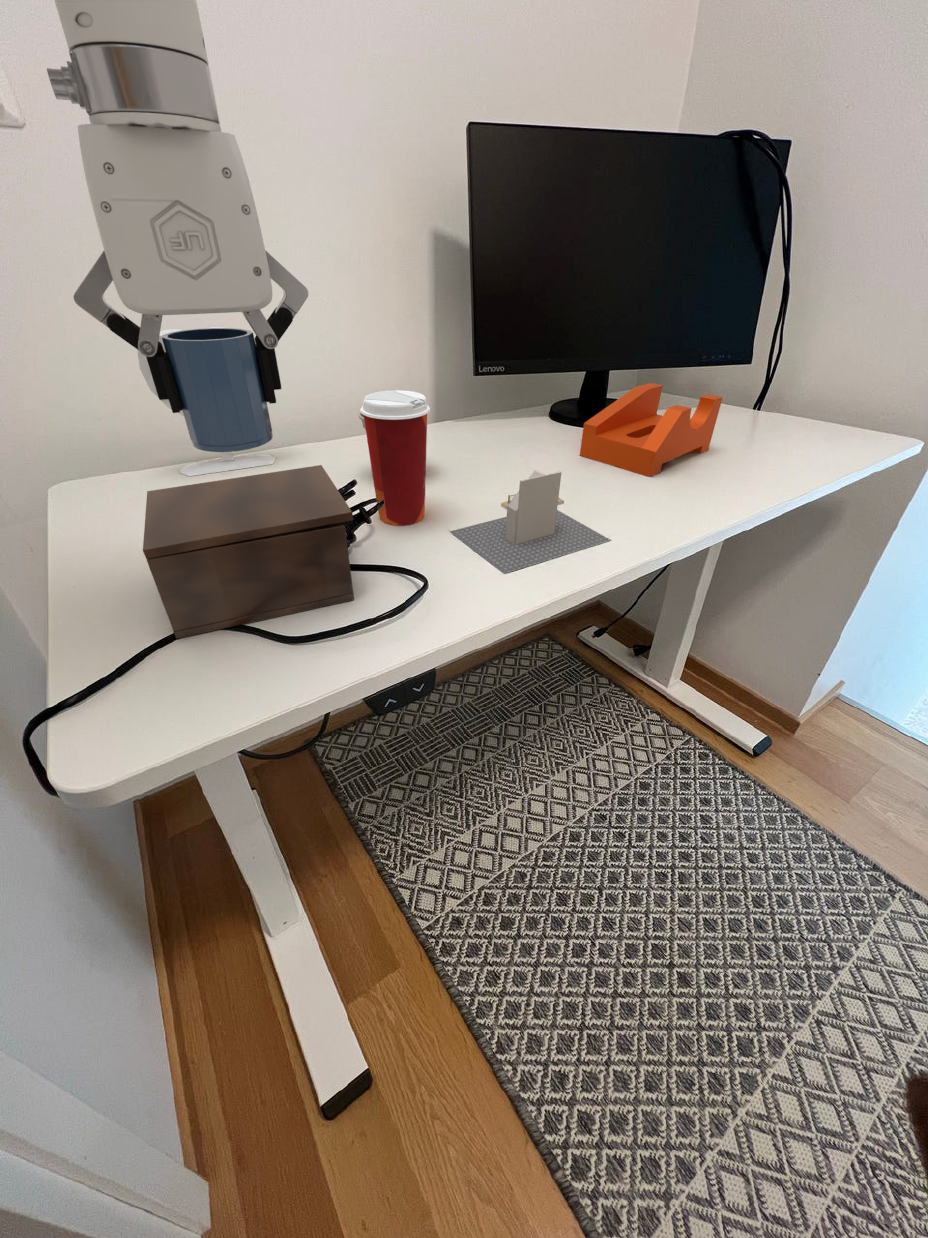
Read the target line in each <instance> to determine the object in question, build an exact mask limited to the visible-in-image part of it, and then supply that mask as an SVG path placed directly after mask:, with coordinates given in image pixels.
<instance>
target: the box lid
mask: <svg viewBox="0 0 928 1238" xmlns="http://www.w3.org/2000/svg"><path fill="white" fill-rule="evenodd" d="M353 514H354V513H353V511H352V509H351V507H350V506H349V505H348V503H347V502H346V500H345V498H344V497H343V495H342V494H341V492H340V490H339V489H338V488H337V486H336V485H335V483H334V482H333V480H332V479H331V477H330V475H329V474H328V473H327V471H326V470H325V468H324V466H323V465H322V464H319V465H313V466H304V467H299V468H298V467H297V468H291V469H286V470H278V471H272V472H266V473H260V474H259V473H257V474H252V475H246V476H239V477H238V476H237V477H232V478H227V479H226V478H225V479H219V480H213V481H212V480H211V481H205V482H199V483H192V484H186V485H179V486H173V487H167V488H166V487H165V488H159V489H153V490H152V489H151V490H147V491H146V501H145V513H144V515H145V516H144V527H143V528H144V529H143V540H142V541H143V544H142V552H143V554H144V557H145V559H146V560H147V559H148V558H154V557H159V556H164V555H170V554H175V553H180V552H186V551H191V550H196V549H201V548H207V547H212V546H217V545H223V544H228V543H233V542H239V541H244V540H249V539H255V538H260V537H265V536H271V535H276V534H281V533H287V532H292V531H297V530H303V529H308V528H313V527H319V526H324V525H329V524H335V523H340V522H343V523H345V522H351V521H354V515H353Z"/></svg>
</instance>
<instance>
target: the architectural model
mask: <svg viewBox="0 0 928 1238" xmlns="http://www.w3.org/2000/svg"><path fill="white" fill-rule="evenodd" d="M561 481H562V471H557V472H552V473H548V474H547V473H546V474H544V473H543V472H541V471H539V470H537V469H534V470H533V472H532V473H531V474H530V476H529V477H528V478H525V479H522V480H519V488H518V491H517V492H516V493H515V494H512V495H511V494H508V495H507V496H508V497H507V501H504V502H500V507H501V508H503V509H504V510H506V516H504V517H500V518H495V519H491V520H489V521H488V520H487V521H484V522H480V523H477V524H472V525H469V526H464V527H461V528H457V529H454V530H450V531H449V532H450V533H451V534H452V535H454V536H455V537H456V538H457V539H458V540H460V541H461V542H462V543H464V544H465V545H466V546H468V547H469V548H470V549H472V550H473V551H474V552H476V553H477V554H478V555H479V556H481V557H482V558H483V559H485V560H486V561H487V562H489V563H490V564H491V565H493V566H494V567H495V568H496V569H498V570H499V571H500V572H501V573H503V574H504V575H505V574H508V573H509V574H510V573H512V572H514V571H518V570H521V569H525V568H527V567H530V566H533V565H537V564H540V563H543V562H547V561H549V560H553V559H556V558H559V557H563V556H566V555H569V554H573V553H575V552H578V551H581V550H585V549H588V548H591V547H594V546H598V545H601V544H603V543H607V542H611V539H610V538H608V537H606V536H605V535H603V534H601V533H599V532H597V530H594V529H592V528H591V527H589V526H587V525H585V524H583V523H582V522H580V521H578V520H576V519H575V518H573V517H571V516H569V515H568V514H566V513H564V512H563V511H561V510H558V506H560V505H564V504H565V500H564V499H562V498H560V497H559V496H560V489H561V488H560V487H561ZM511 497H512V498H511Z"/></svg>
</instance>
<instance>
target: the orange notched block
mask: <svg viewBox="0 0 928 1238" xmlns="http://www.w3.org/2000/svg"><path fill="white" fill-rule="evenodd" d="M662 390H663V384H657V383H652V382H648V383H645V384H641V385H638V386H635V387H633V388H632V389H631V390H629V391H628V392H626V393H625V394H624V395H622V396H620V397H619V398H617V399H616V400H615V401H613V402H612V403H610V404H609V405H608V406H606V407H605V408H603V409H602V410H601V411H599V412H598V413H596V414H595V415H593V416H592V417H591V418H589V419H588V420H586V421H585V422H584V423H583V427H582V435H581V443H580V451H579V456H580V457H584V458H587V459H590V460H593V461H596V462H600V463H603V464H607V465H610V466H613V467H616V468H619V469H623V470H626V471H628V472H632V473H635V474H638V475H643V476H645V477H649V478H651V477H654V476H656V475H658V474H660V473H661V470H662V465H663V464H665V463H667V462H669V461H672V460H675V459H676V458H678V457H681V456H682V455H685V454H687V453H690V452H692V453H695V454H700V455H702V454H703V453H705V452H708V451H709V449H710V445H711V441H712V438H713V435H714V431H715V427H716V423H717V419H718V416H719V412H720V409H721V405H722V402H723V399H724V396H719V395H714V394H705V395H702V396H700V397H699V401H698V404H697V407H696V408H695V411H694V412H693V414H692V409H693V408H692V407H688V406H684V405H679V404H675V405H672V406H670V407H667V409H666V410H665V411H664V413H663V415H662V414H658V410H659V406H660V399H661V396H662V392H663V391H662ZM691 414H692V416H691Z"/></svg>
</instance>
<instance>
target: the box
mask: <svg viewBox="0 0 928 1238" xmlns="http://www.w3.org/2000/svg"><path fill="white" fill-rule="evenodd" d="M348 548H349V547H348V539H347V532H346V525H345V524H344V522H340V523H335V524H329V525H324V526H319V527H313V528H308V529H303V530H297V531H292V532H287V533H281V534H276V535H271V536H265V537H260V538H255V539H249V540H244V541H239V542H233V543H228V544H223V545H217V546H212V547H207V548H201V549H196V550H191V551H186V552H180V553H175V554H170V555H164V556H159V557H154V558H148V559H146V562H147V565H148V568H149V571H150V573H151V576H152V578H153V581H154V584H155V587H156V589H157V591H158V594H159V598H160V601H161V602H162V605H163V608H164V611H165V612H166V615H167V618H168V621H169V624H170V626H171V629H172V631H173V634H174V637H175V639H176V640H178V639H183V638H187V637H191V636H196V635H201V634H205V633H211V632H215V631H219V630H224V629H228V628H233V627H237V626H243V625H246V624H250V623H251V624H252V623H255V622H260V621H265V620H269V619H273V618H278V617H282V616H288V615H291V614H296V613H301V612H305V611H311V610H315V609H319V608H324V607H328V606H333V605H338V604H342V603H347V602H352V601H354V600H355V595H354V587H353V586H354V585H353V578H352V571H351V564H350V563H351V562H350V555H349V549H348Z"/></svg>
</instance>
